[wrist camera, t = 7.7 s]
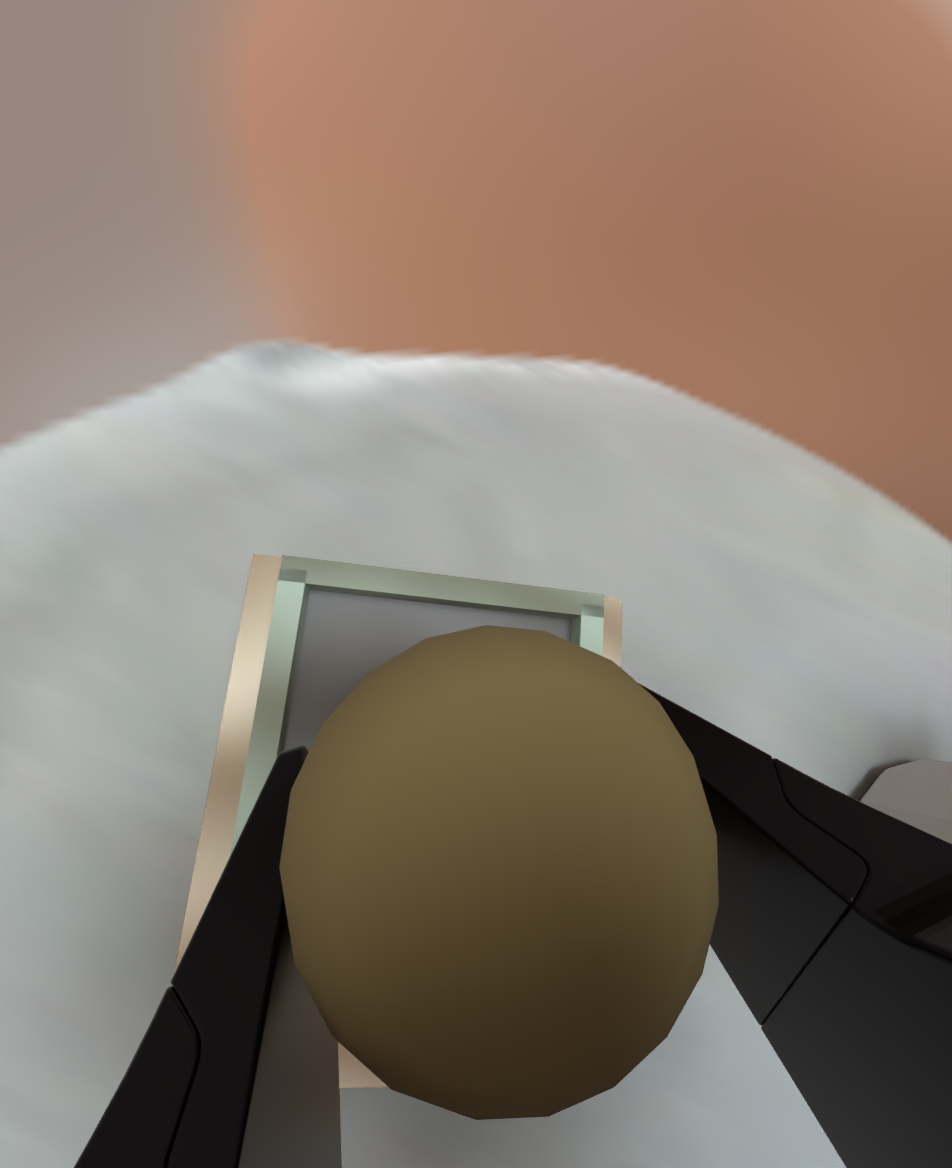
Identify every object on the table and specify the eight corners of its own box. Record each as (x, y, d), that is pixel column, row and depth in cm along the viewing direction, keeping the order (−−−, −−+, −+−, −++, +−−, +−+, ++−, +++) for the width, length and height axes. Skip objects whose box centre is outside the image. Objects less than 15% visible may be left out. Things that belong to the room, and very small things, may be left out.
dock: (580, 1027, 18) (628, 1112, 14) (187, 1031, 16) (129, 1130, 12) (595, 609, 21) (637, 593, 18) (270, 571, 19) (243, 544, 16)
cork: (303, 837, 14) (63, 1249, 4) (364, 630, 16) (317, 498, 5) (507, 879, 15) (802, 1331, 4) (547, 677, 16) (838, 646, 6)
